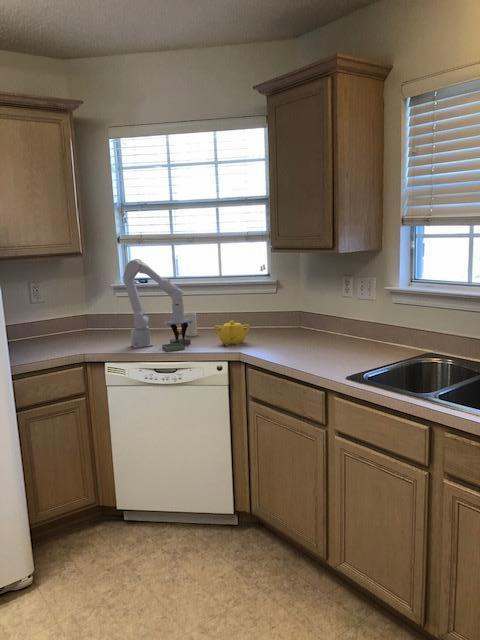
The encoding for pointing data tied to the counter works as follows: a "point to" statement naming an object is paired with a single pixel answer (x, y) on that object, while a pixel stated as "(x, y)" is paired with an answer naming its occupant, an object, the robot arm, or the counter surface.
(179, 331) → the small bottle
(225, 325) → the teapot
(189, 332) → the mug
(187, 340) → the block
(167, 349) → the tray
